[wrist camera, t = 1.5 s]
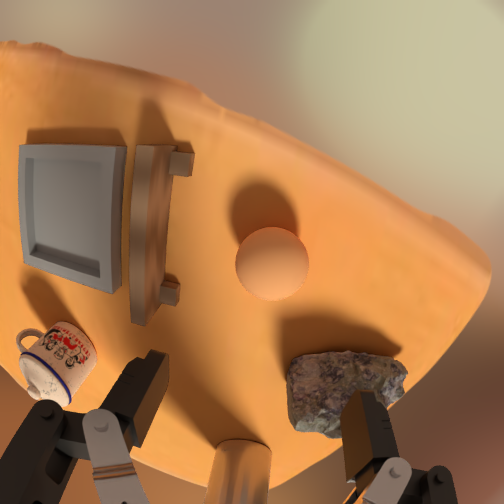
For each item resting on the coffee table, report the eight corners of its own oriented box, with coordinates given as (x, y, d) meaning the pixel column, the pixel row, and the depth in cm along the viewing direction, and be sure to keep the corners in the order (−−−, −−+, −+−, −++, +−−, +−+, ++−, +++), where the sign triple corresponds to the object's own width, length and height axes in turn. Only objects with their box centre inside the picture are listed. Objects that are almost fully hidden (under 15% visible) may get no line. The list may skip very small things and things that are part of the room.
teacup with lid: (104, 344, 33) (60, 402, 23) (94, 377, 37) (59, 428, 26) (41, 295, 32) (-11, 338, 21) (38, 333, 35) (-3, 375, 25)
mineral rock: (406, 357, 29) (432, 418, 20) (352, 408, 33) (362, 468, 24) (323, 317, 28) (336, 388, 19) (271, 380, 32) (265, 448, 23)
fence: (178, 304, 30) (162, 331, 25) (136, 293, 30) (115, 317, 25) (195, 148, 24) (175, 148, 19) (145, 142, 24) (117, 143, 19)
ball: (313, 271, 27) (320, 303, 21) (253, 287, 28) (245, 322, 22) (295, 210, 25) (299, 229, 19) (231, 230, 26) (217, 253, 20)
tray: (121, 285, 30) (112, 294, 28) (34, 257, 30) (24, 263, 28) (127, 146, 24) (115, 147, 22) (31, 143, 25) (19, 145, 23)
